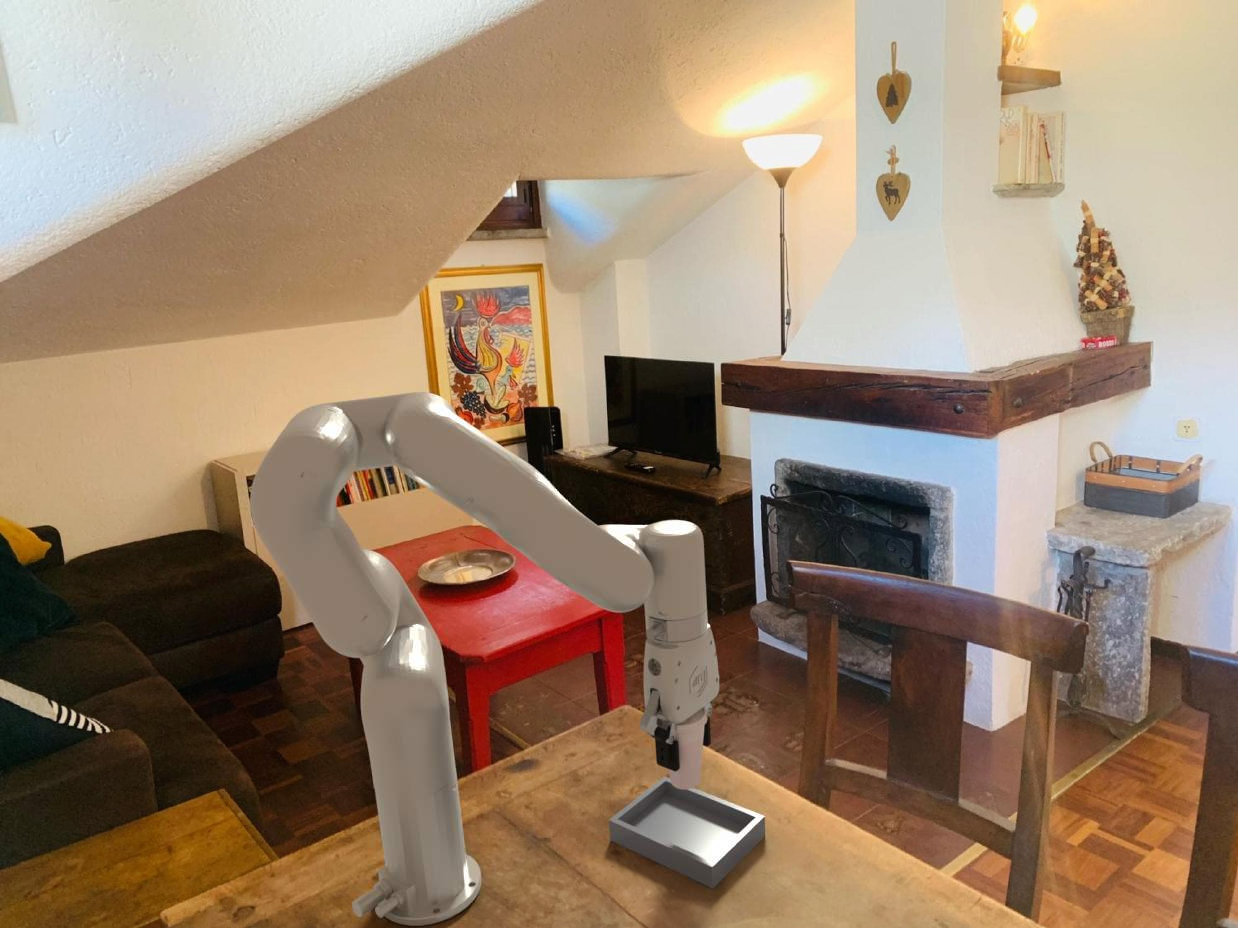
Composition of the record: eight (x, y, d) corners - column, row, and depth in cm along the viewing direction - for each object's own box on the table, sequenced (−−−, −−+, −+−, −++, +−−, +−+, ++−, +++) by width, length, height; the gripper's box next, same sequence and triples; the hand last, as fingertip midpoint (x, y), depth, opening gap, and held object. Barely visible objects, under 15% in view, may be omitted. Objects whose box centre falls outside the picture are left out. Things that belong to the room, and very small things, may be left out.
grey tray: (713, 888, 110) (712, 866, 110) (610, 840, 120) (608, 819, 120) (765, 836, 119) (764, 815, 119) (665, 795, 129) (664, 776, 129)
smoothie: (710, 766, 121) (705, 668, 117) (710, 795, 114) (705, 693, 111) (661, 766, 121) (654, 669, 118) (659, 796, 115) (651, 694, 112)
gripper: (658, 656, 104) (667, 798, 108) (741, 604, 117) (746, 732, 121) (607, 641, 109) (617, 777, 113) (692, 592, 121) (698, 717, 126)
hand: (684, 753), depth 117 cm, fingers closed on smoothie, 6 cm apart
